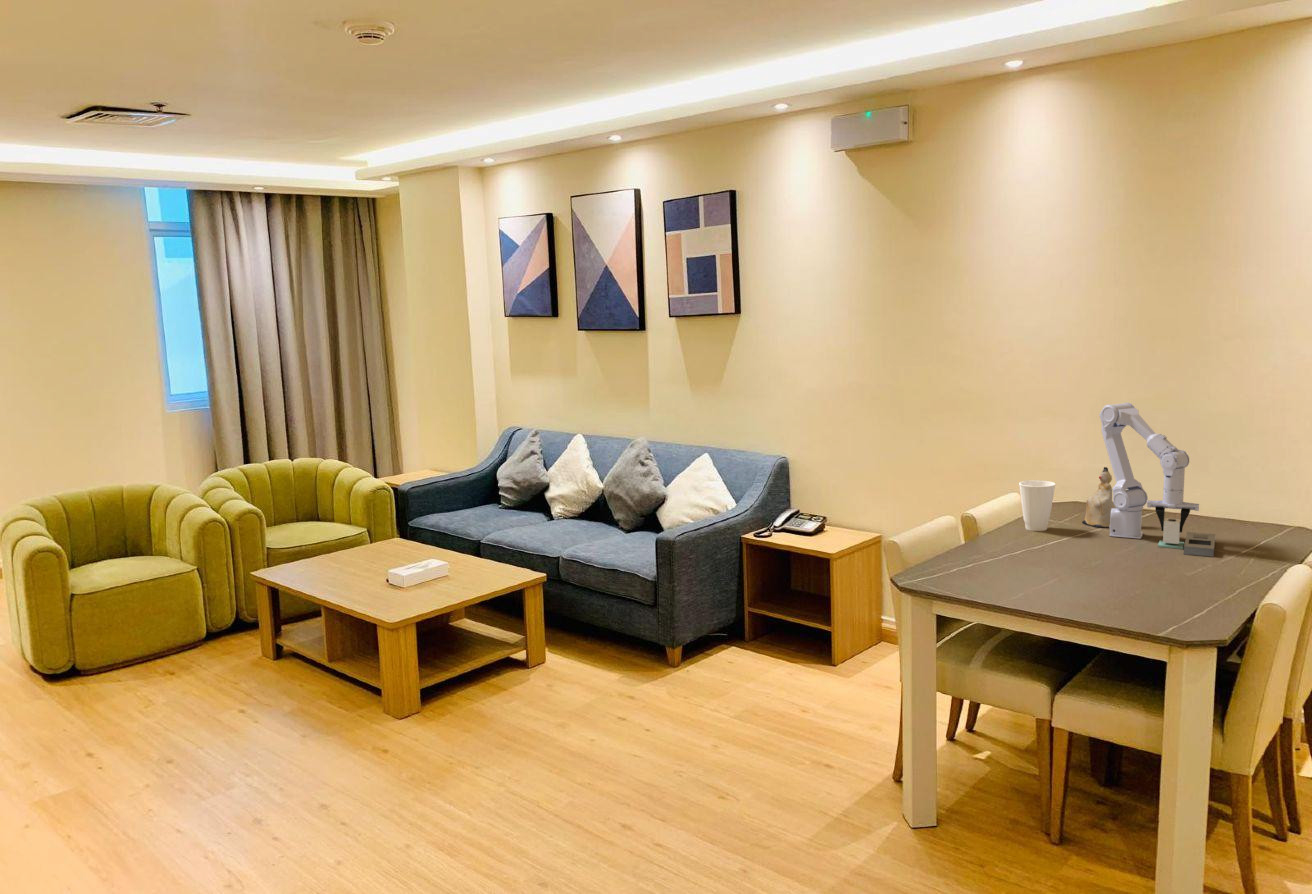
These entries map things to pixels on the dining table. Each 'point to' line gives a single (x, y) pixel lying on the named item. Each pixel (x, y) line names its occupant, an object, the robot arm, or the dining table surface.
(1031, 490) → the cup
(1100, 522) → the figurine
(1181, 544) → the mat
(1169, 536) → the cube with screw head
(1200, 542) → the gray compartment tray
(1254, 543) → the dining table surface
